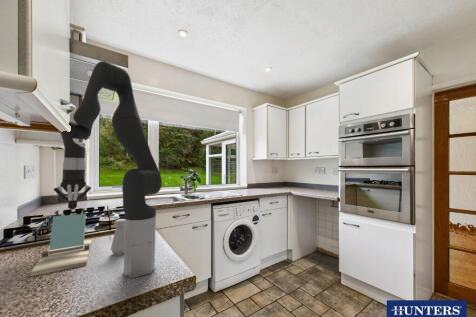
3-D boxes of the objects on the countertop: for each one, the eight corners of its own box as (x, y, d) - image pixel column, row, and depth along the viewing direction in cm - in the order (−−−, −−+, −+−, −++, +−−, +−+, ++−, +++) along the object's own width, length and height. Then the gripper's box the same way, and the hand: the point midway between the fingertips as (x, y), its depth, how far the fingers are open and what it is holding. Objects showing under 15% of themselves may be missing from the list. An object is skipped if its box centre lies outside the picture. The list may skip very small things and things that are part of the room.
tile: (83, 248, 80) (83, 248, 79) (49, 254, 75) (48, 254, 74) (85, 214, 85) (85, 213, 84) (53, 217, 79) (53, 216, 78)
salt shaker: (120, 257, 76) (121, 222, 77) (107, 255, 77) (108, 221, 78) (131, 251, 82) (132, 218, 83) (118, 249, 83) (119, 217, 84)
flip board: (86, 265, 70) (86, 256, 70) (29, 276, 63) (30, 267, 63) (91, 241, 92) (92, 235, 92) (50, 247, 85) (50, 240, 85)
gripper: (51, 168, 81) (49, 212, 81) (92, 168, 88) (90, 209, 88) (55, 168, 88) (54, 209, 87) (93, 168, 95) (92, 206, 94)
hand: (72, 209), depth 87 cm, fingers closed
